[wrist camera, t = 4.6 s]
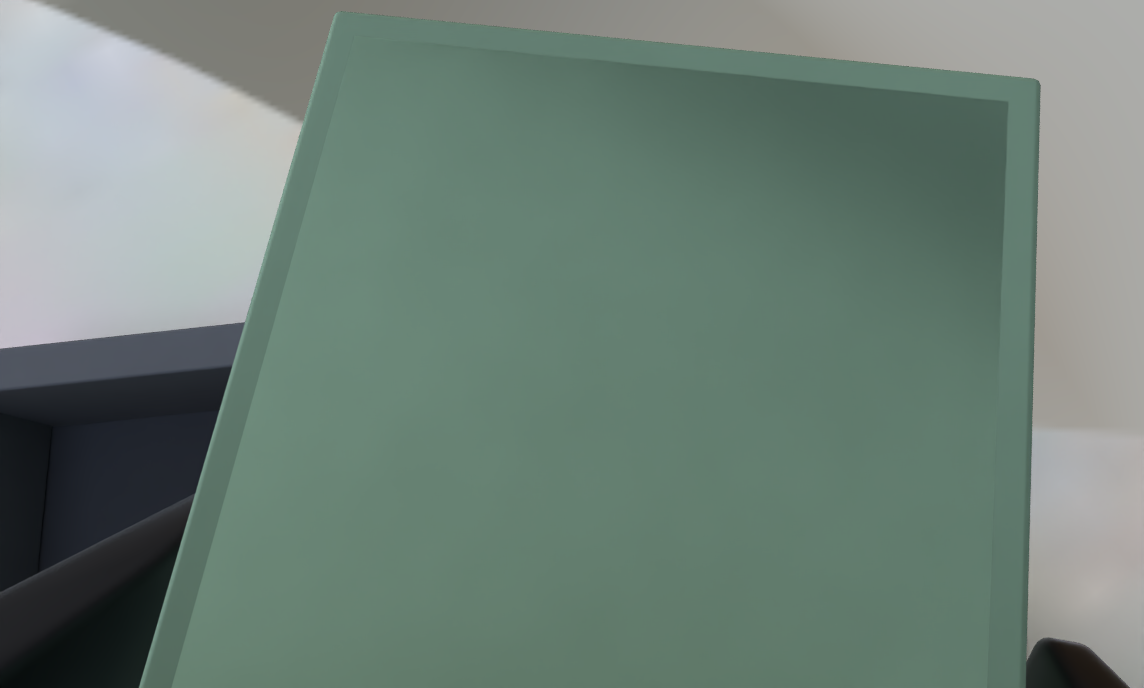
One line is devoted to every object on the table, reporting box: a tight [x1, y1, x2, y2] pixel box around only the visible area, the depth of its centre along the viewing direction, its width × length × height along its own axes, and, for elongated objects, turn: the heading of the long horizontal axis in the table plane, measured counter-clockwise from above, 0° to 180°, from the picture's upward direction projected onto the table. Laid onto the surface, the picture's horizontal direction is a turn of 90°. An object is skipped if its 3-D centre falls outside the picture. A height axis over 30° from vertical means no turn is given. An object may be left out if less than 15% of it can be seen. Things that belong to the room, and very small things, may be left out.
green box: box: [139, 11, 1040, 688], centre depth 10 cm, size 7×4×13 cm, turn 170°
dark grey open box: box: [0, 322, 245, 592], centre depth 15 cm, size 12×8×4 cm
